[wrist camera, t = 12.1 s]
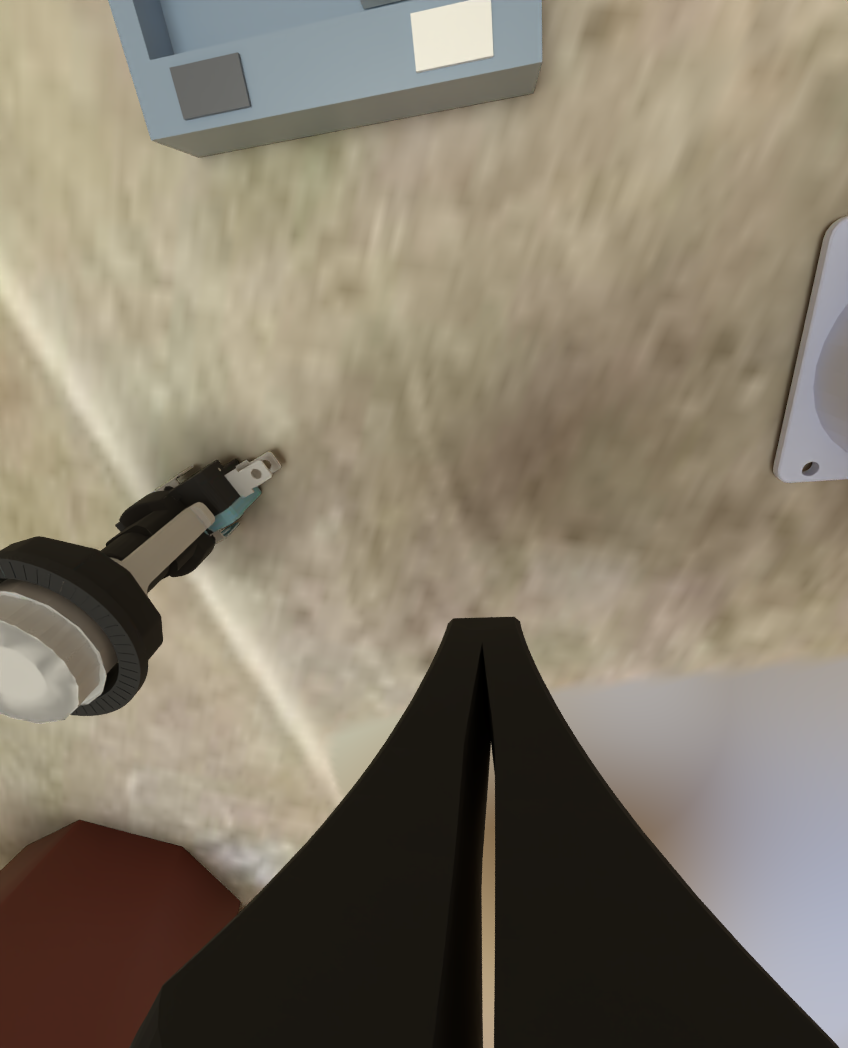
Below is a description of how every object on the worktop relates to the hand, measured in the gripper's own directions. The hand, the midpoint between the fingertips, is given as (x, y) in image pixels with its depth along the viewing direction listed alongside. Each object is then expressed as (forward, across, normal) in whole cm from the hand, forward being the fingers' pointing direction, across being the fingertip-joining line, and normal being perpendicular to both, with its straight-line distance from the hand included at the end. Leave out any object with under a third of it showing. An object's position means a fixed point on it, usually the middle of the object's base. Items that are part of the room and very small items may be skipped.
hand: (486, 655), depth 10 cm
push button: (+10, +11, 0) cm, 15 cm away
